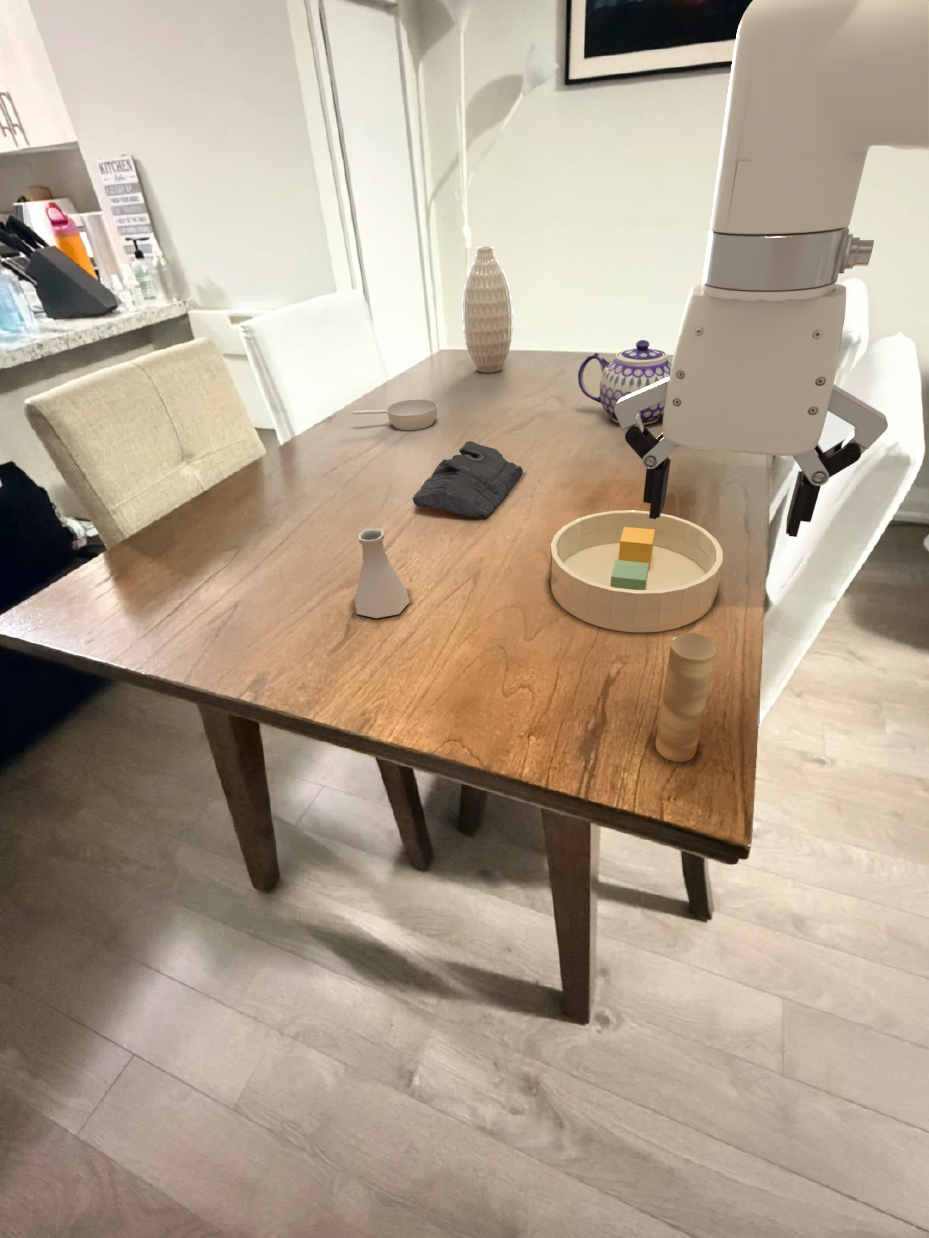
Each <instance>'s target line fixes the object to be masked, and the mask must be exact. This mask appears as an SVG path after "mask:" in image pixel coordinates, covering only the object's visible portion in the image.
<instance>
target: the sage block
mask: <svg viewBox="0 0 929 1238" xmlns="http://www.w3.org/2000/svg"><path fill="white" fill-rule="evenodd" d="M648 569H649V563H642V562H632V561H622V560H615V564H614V567H613V571H612V575H611V584H610V587H614V588H623V589H632V590H646V586H647V577H648Z"/></svg>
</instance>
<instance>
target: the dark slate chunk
mask: <svg viewBox="0 0 929 1238" xmlns="http://www.w3.org/2000/svg"><path fill="white" fill-rule="evenodd" d="M458 452H459V453H460V454H454V455H453V456H452V457H451V458H450V459H442V461H441V462H439V463H438V465H437V466H436V467H435V469H434V471H433V472H432V474H431V475H430V477H428V478H427V479H425V481H424V482H423V484H422V485H421V487H420V489H419V490H418V491H417V492H416V493H415V494H414V495H413V496H412V503H413V504H414V505H415V506H416V507H420V508H426V509H431V510H436V511H445V512H448V513H450V514H454V515H459V516H463V517H468V518H486V517H488V516H489V515H490V514H492V513H493V512H495V510H496V509H497V508H498V506H500V504H501V503H502V502H504V499H505V498H507V496H508V494H509V493H510V492H511V490H512V489H513V487H514V486H515V485H516V483H517V482H518V481H519V479H521V476H522V474H523V471H524V470H523V468H522V466H521V465H517V464H516V463H515V462H510V461H508V460H506V459H505V457H504V456H503V454H502V453H501V452H500V451H499V450H498V449H496V448H493V447H490V446H486V445H482V444H479V443H477V442H474V441H473V440H472V441H471V440H468V441H466V442H465V443H464V445H462V447H460V448H459V451H458Z"/></svg>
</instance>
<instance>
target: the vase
mask: <svg viewBox="0 0 929 1238" xmlns="http://www.w3.org/2000/svg"><path fill="white" fill-rule="evenodd" d="M513 309H514V308H513V298H512V292H511V289H510V284H509V281H508V277H507V275H506V274H505V271H504V269H503V268H502V265H501V263H500V262H499V261H498V259H497V257H496V255H495V252H494V247H493V246H489V245H488V246H487V245H485V246H479V247H477V248H476V254H475V257H474V260H473V262H472V264H471V265H470V268H469V270H468V273H467V275H466V278H465V281H464V285H463V291H462V299H461V319H462V320H461V321H462V322H461V323H462V330H463V331H462V332H463V337H464V340H465V341H464V342H465V346H466V349H467V351H468V354H469V356H470V359H471V361H472V363H473V364H474V366H475V368H476V369H477V371H478V372H479V373H482V374H483V373H486V374H487V373H488V374H489V373H490V374H491V373H497V372H500V371H501V370H502V368H503V367H504V364H505V362H506V360H507V358H508V354H509V353H510V352H509V351H510V348H511V343H512V339H513V327H514V310H513Z"/></svg>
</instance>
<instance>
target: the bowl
mask: <svg viewBox="0 0 929 1238" xmlns="http://www.w3.org/2000/svg"><path fill="white" fill-rule="evenodd" d="M649 514H650V510H649V511H648V510H637V509H636V510H635V509H627V510H625V509H623V510H609V511H604V512H603V511H602V512H597V513H592V514H589V515H586V516H583V517H579V518H576V519H575V520H573V521H570V522H569V523H567V524H565V525H564V526H563V527H561V529H559V530H558V531H557V532H556V533H555V534H554V536H553V539H552V541H551V543H550V557H549V561H550V562H549V565H550V566H549V567H550V569H549V576H550V577H549V579H550V589H551V593H552V595H553V598H554V599H555V601H556V602H557V603H558V604H559V605H560V607H562V608H563V609H564V610H565V611H566V612H567V613H569V614H570V615H572V616H573V617H575V618H577V619H579V620H581V621H583V622H585V623H588V624H590V625H593V626H595V627H599V628H602V629H607V630H611V631H618V632H624V633H625V632H626V633H643V634H644V633H659V632H665V631H670V630H675V629H678V628H681V627H685V626H687V625H689V624H691V623H694V622H696V621H697V620H699V619H700V618H702V617H704V615H706V614H707V613H708V612H709V610H710V609H711V608H712V606H713V605H714V602H715V599H716V596H717V593H718V587H719V582H720V577H721V572H722V568H723V563H724V560H723V559H724V558H723V557H724V550H723V548H722V546H721V545H720V543H719V541H718V539H717V538H716V537H715V536H714V535H712V534H711V533H710V532H709V531H707V530H706V529H705V528H703V527H701V526H699V525H698V524H696V523H694V522H692V521H689V520H687V519H685V518H681V517H678V516H675V515H671V514H666V513H662V512H661V514H660V517H659V518H657V519H650V518H649ZM624 527H632V528H643V529H655V535H654V543H653V552H652V559H651V564H650V570H649V571H648V577H647V586H646V590H632V589H623V588H614V587H610V584H611V575H612V571H613V567H614V564H615V560H619V550H620V540H621V536H622V533H623V529H624Z"/></svg>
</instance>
